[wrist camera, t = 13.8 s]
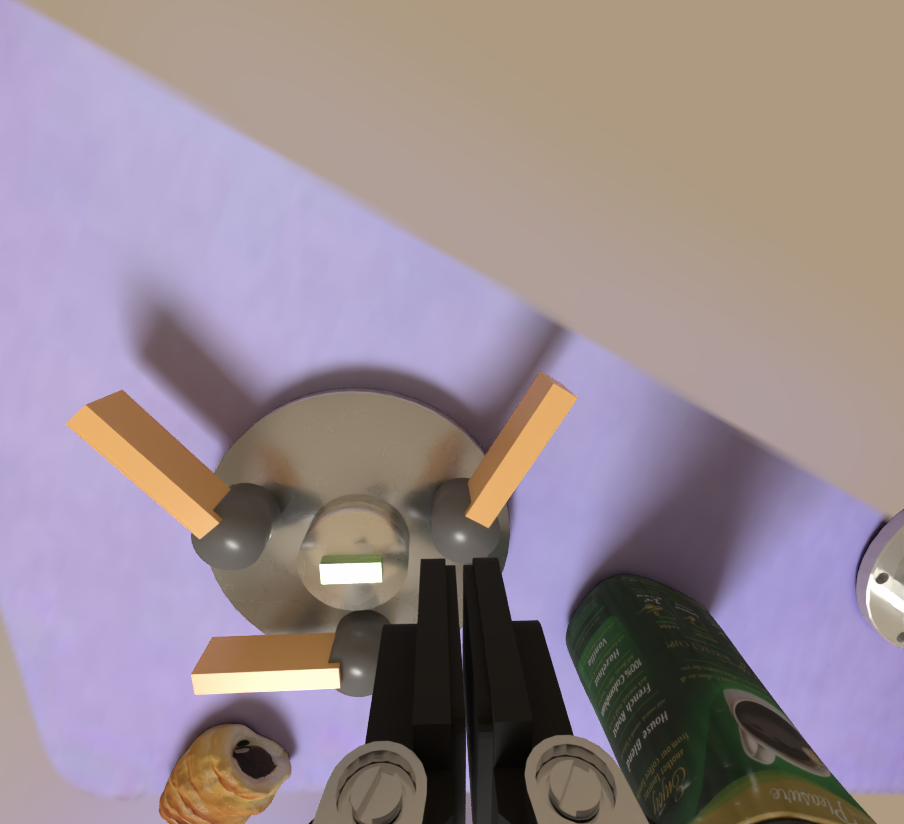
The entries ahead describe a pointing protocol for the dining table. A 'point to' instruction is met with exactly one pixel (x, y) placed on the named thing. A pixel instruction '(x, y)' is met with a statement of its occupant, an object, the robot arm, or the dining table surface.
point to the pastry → (224, 777)
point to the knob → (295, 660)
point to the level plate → (342, 466)
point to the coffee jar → (694, 715)
